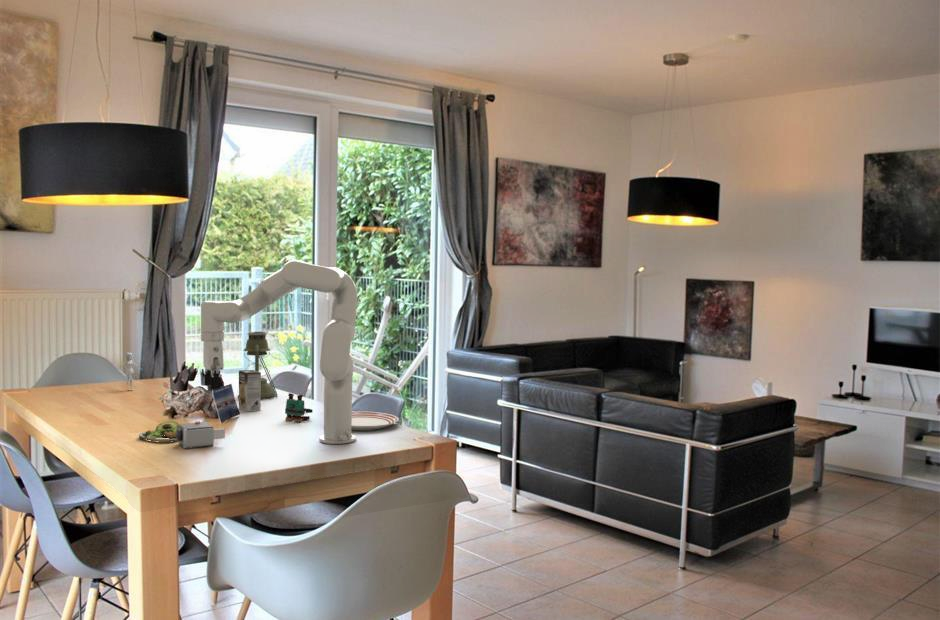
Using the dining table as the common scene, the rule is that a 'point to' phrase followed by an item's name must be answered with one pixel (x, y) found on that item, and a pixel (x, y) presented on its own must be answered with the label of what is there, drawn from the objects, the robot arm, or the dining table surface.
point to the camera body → (191, 427)
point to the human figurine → (129, 368)
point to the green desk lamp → (259, 347)
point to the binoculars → (296, 409)
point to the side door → (202, 436)
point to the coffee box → (249, 390)
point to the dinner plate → (372, 420)
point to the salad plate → (162, 432)
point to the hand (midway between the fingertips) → (212, 386)
